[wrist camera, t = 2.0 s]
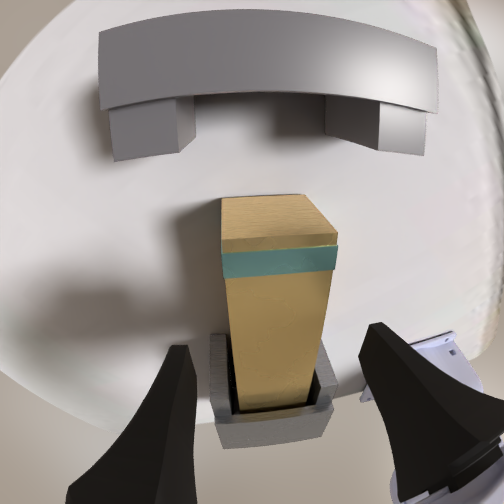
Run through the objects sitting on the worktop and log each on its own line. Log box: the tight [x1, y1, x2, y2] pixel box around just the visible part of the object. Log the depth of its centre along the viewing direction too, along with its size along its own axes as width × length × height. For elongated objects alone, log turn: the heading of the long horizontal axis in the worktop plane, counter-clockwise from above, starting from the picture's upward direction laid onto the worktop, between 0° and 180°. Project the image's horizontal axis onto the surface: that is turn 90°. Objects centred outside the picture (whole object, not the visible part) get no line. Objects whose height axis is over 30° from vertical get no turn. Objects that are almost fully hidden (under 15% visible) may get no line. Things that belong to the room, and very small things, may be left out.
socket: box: [98, 9, 438, 162], centre depth 8 cm, size 10×4×6 cm, turn 92°
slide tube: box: [221, 195, 338, 414], centre depth 15 cm, size 4×15×4 cm, turn 2°
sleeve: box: [210, 334, 338, 449], centre depth 17 cm, size 7×7×6 cm
